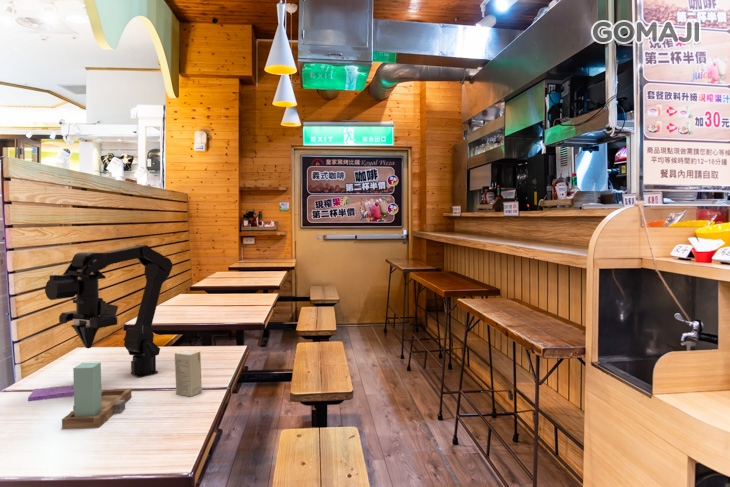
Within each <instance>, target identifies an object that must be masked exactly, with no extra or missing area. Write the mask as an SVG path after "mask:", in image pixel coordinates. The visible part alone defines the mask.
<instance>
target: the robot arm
mask: <svg viewBox="0 0 730 487" xmlns="http://www.w3.org/2000/svg"><path fill="white" fill-rule="evenodd" d="M136 259H137V260H138V262H139V263H140V264H141V265H142V266H143V267H144V276H145V277H144V278H145V280H146V282H145V287H144V290H143V293H142V298H141V302H140V306H139V309H138V313H137V316H136V320H135V323H134V325H133V326H132V327H128V328H126V330H125V336H124V338H123V340H122V341H124V347H125V349H126V350H127V353H128V355H129V356H132V360H131V361H130V366H131V367H130V374H131V375H133V376H135V377H136V378H142V377H147V376H150V375H155V374H158V373H159V371H158V370H157V367H156V366H157V364H156V362H157V361H156V360H157V357H156V356H159V355H160V351H161V348H160V347H159V346H158V345H157V344H156V343H155V342H154V337H155V333H154V331H153V327H152V326H153V322H154V317H155V313H156V310H157V307H158V306H157V305H158V301H159V297H160V295H161V290H162V286H163V283H165V282H166V281H167V279H168V278H169V277H170V275H171V272H172V269H173V262H172V260H171V259H170V258H169V257H166V256H165V255H163V254H161V253H160V252H157V250H154V249H153V248H151V247H150V246H148V245H146V244H136V245H133V246H129V247H123V248H118V249H114V250H108V251H104V252H103V251H101V252H96V251H94V252H93V251H92V252H90V251H89V252H82V251H81V252H76V253H75V254H74V255H73V257H72V260H71V262H70V264H69V265H68V267H67V268H66V270H64V272H63V273H62V274H50V275H49V276H48V277H49V279H48V280H47V282H46V283H45V286H44V294H45V297H46V298H47V299H48V300H50V301H56V300H62V299H70V298H75V299H72V304H75V306H76V307H75V310H70V311H65V312H62V313H60V315H59V316H58V321H59V323H60V324H67V323H68V322H71V321H73V324H71V325H70V326H71V328H73V330H74V331H75V332H76V334H77V336H78V337H79V339H80V340H81V342H82V344H83V345H84V347H85V349H91V348H92V346H93V343H94V340H95V338H96V334H97V333H98V330H99V329H102V328H107V327H111V326H113V327H114V326H117V325H118V317H117V313H118V309H119V306H118V305H115V304H109V303H107V302H106V300H104V298H103V297H100V296H99V287H100V286H99V280H102V279H106V275H104V274H103V273H102V272H101V271H102V270H104V269H106V268H107V267H108V266H110V265H114V264H118V263H123V262H126V261H132V260H136Z"/></svg>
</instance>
